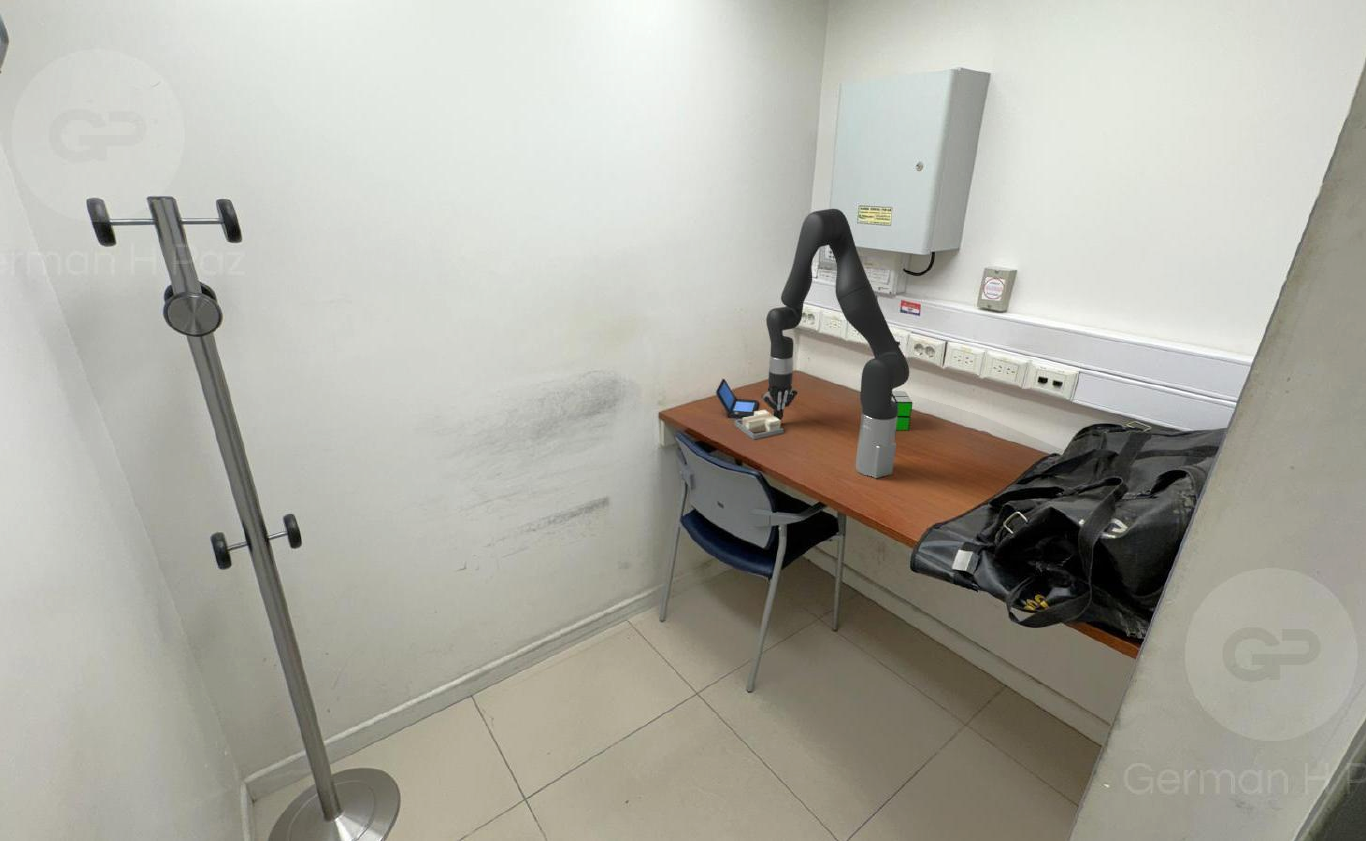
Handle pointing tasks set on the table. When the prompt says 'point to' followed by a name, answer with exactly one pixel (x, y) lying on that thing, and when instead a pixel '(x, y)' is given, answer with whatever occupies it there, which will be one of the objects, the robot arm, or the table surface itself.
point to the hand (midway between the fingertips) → (778, 419)
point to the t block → (761, 422)
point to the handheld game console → (735, 402)
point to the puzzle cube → (902, 409)
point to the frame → (759, 435)
